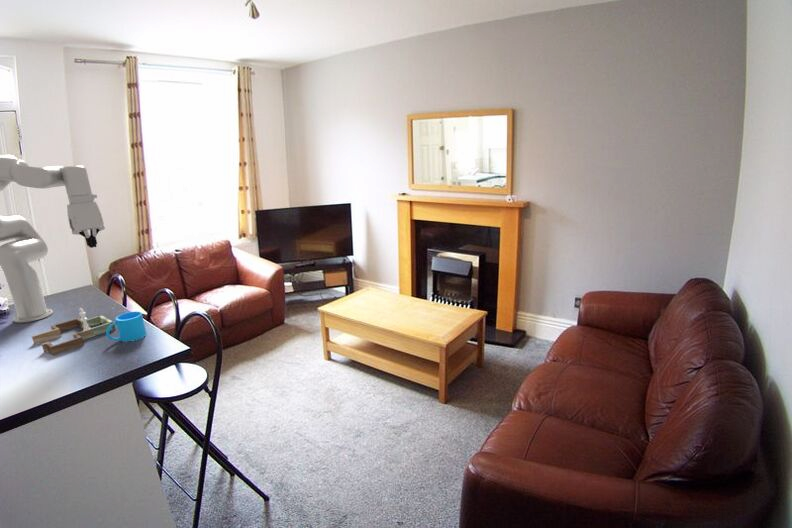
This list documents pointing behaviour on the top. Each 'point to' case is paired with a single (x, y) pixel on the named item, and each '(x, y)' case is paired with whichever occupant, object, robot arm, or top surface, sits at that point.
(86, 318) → the chess piece
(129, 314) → the mug
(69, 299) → the top surface
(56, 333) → the box
